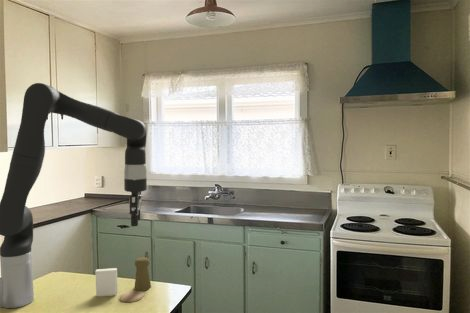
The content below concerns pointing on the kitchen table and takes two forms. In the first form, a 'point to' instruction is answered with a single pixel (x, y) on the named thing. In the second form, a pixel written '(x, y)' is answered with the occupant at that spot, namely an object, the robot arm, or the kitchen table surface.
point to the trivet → (131, 296)
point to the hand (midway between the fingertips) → (135, 223)
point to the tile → (106, 282)
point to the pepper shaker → (142, 274)
